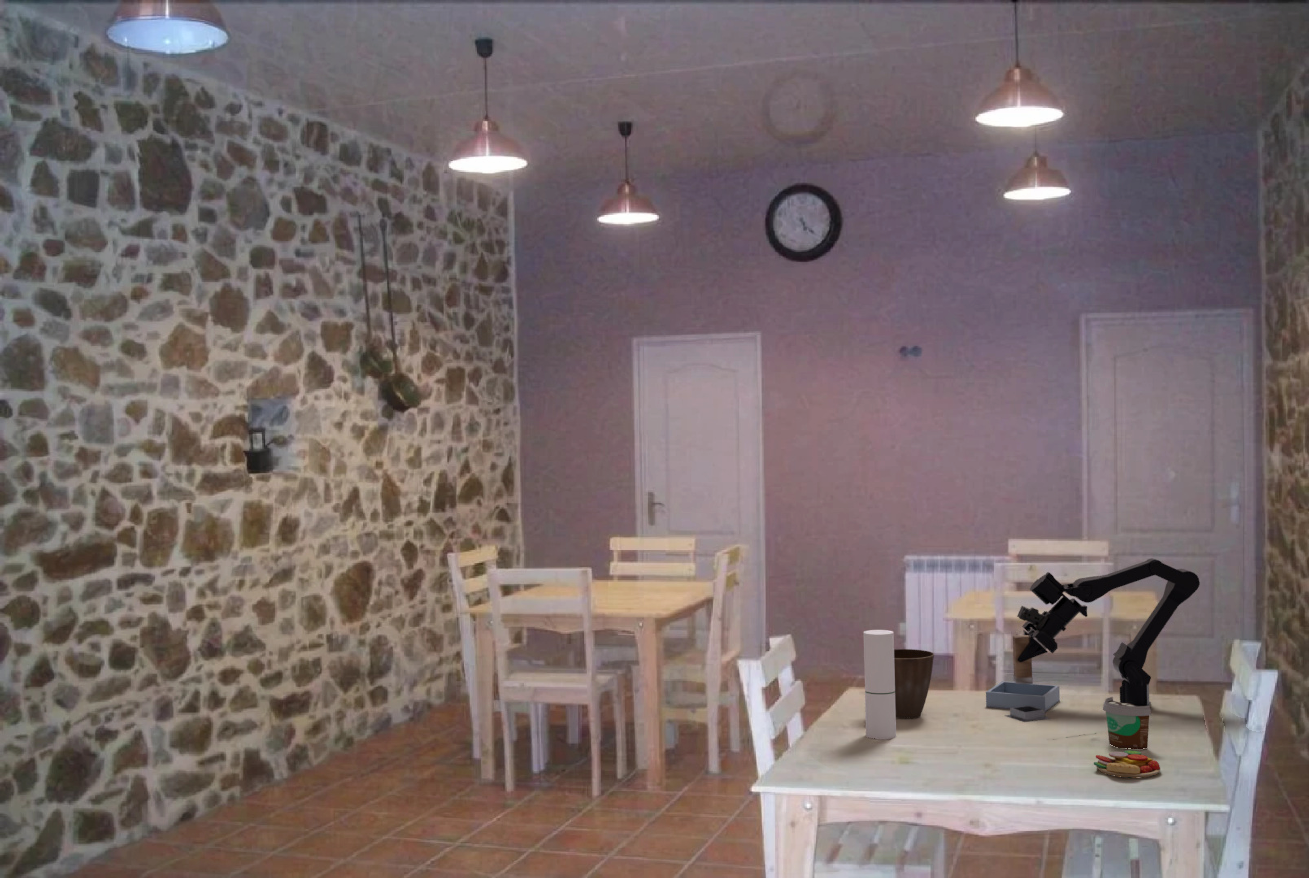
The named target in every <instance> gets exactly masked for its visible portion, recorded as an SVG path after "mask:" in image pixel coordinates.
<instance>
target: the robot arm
mask: <svg viewBox="0 0 1309 878" xmlns="http://www.w3.org/2000/svg"><path fill="white" fill-rule="evenodd" d="M1153 576H1157V577H1158V578H1161V579H1163V580H1165V581H1167V582H1166V584H1165V587H1164V592H1163V595H1162V597H1161V599H1160V600H1159V602H1158V603H1157V605H1156V606H1155V607H1154V609H1153V610H1152V611H1151V613H1150V615H1149V616H1148V618H1147V619H1146V621H1145V622H1144V624H1143V625H1142V627H1141V628H1140V630H1139V631H1138V632H1137V634H1136V635H1135V637H1134V638H1133V640H1132V641H1130V642H1129V643H1127V644H1125V642H1122V641H1121V643H1120V644H1119V646H1118V648H1117V650H1116V651H1115V652H1114V653H1113V659H1112V665H1113V666H1112V667H1113V668H1114V670H1115V671H1116V672H1117V673H1118V674H1120V676H1121V679H1123V680H1122V681H1121V685H1120V687H1119V702H1120V703H1130V704H1133V705H1135V706H1150V705H1151V703H1152V702H1151V701H1150V683H1151V680H1152V676H1151V675H1150V674H1148V673H1147V672H1146V671H1145V670H1144V669H1143V667H1144V665H1145V664H1146V661H1147V656H1148V652H1149V650H1150V648H1151V647H1152V645H1153V644H1154V642H1155V641H1156V639H1157V638H1158V636H1159V635H1160V634H1161V632H1162V631H1163V629H1165V626H1166V624H1167V623H1168V621H1170V619H1171V617H1172V616H1173V614H1174V613H1175V611H1177V609H1178V607H1179V606H1180V605H1181V604H1183V603H1184V602H1186V601H1188V599H1190V598H1191V596H1192V595H1194V594H1195V593H1196V591H1197V590H1199V587H1200V585H1201V582H1200V578H1199V577H1198V574H1196V573H1195V572H1193V571H1191V570H1188V569H1186V568H1174V567H1172V566H1169V565H1167V564H1165V563H1163V562H1162V561H1160V560H1159V559H1156V558H1148V559H1147V560H1145V561H1142V562H1139V563H1137V564H1134V565H1133V564H1132V565H1130V566H1126V567H1125V568H1121V569H1118V570H1116V571H1113V572H1110V573H1108V574H1107V573H1106V574H1103V575H1102V574H1101V575H1095V576H1093V575H1092V576H1087V577H1080V578H1077V579H1076V580H1074V581H1073V582H1072V583H1065V584H1061V583H1060V582H1059V581H1058V580H1057V579H1056V578H1055V576H1054V575H1053V574H1052V573H1051V572H1049V571H1048V572H1046V573H1045V574H1044V575H1042V576H1041V577H1039V578H1037V579H1036V580H1035V581H1034V582H1033V584H1031V586H1030V588H1029V591H1030V592H1032V593H1033V594H1034V595H1035V596H1036V597H1037V598H1038V599H1039V600H1040V601H1041V602H1042V603H1044V604H1045V605H1046V606H1047V605H1049V604H1050V605H1051V606H1052V607H1051V608H1050V609H1049V610H1048V611H1047V610H1043V612H1042V613H1040V612H1039V609H1038V608H1035V607H1030V608H1028V607H1026V606H1024V605H1021V606H1020V609H1019V610H1018V613H1017V615H1016V618H1018V619H1019V620H1022V621H1026V622H1025V623H1023V624H1022V626H1021V627H1022V628H1023V631H1022V632H1023V635H1028V636H1029V643H1028V645H1027V646H1026V647H1025V649H1024V650H1023V652H1022V653H1021V654H1020V656H1019V657H1018V659H1017V660H1018V661H1019V662H1023V661H1026V660H1028V659H1031V658H1032V659H1033V658H1035V657H1038V656H1041V655H1044V654H1047V653H1048V651H1049V652H1050V653H1051V654H1054V653H1055V652H1056V651H1057V649H1058V642H1057V641H1056V639H1055V638H1056V637H1057V635H1059V634H1060V633H1061V632H1065V631H1066V630H1067V626H1068V625H1069V624H1070V623H1071V621H1072V620H1073V619H1074V618H1076V616H1077V615H1078V614H1080V615H1082V616H1083V617H1085V618H1087V617H1088V606H1087V605H1086V604H1085V605H1084V604H1083V605H1082V604H1080V602H1083V603H1089V604H1090V603H1093V602H1094V601H1096V600H1098V599H1100V598H1102V597H1104V596H1106V594H1108V593H1109V592H1110V591H1113V590H1115V589H1118V588H1120V587H1121V588H1122V587H1125V586H1126V585H1129V584H1134V583H1135V582H1139V581H1141V580H1145V579H1147V578H1150V577H1153ZM1064 593H1065V594H1064ZM1066 594H1067V595H1068V596H1069V597H1073V598H1071V599H1069V598H1068V597H1067V595H1066ZM1075 598H1076V599H1078V600H1079V601H1080V602H1078V601H1077V600H1076V599H1075Z"/></svg>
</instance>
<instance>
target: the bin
mask: <svg viewBox="0 0 1309 878" xmlns="http://www.w3.org/2000/svg"><path fill="white" fill-rule="evenodd" d="M1060 696H1061V695H1060V685H1053V684H1052V685H1051V684H1044V683H1043V684H1040V683H1033V684H1016V683H1015V682H1014V681H1001V682H999V683H997V684H996V685H995V686H992V687H991V688H990V689H988V690H987V691H985V702H986V703H985V705H986V706H985V707H986V708H992V709H993V708H994V709H1003V710H1004V709H1005V710H1010V708H1015V707H1023V706H1033V707H1036V708H1039V709H1043V710H1045V713H1046V712H1047V711H1049V710H1050V709H1051V708H1053V707H1054V706H1055V705H1057V703H1059V702H1060V700H1061V698H1060Z"/></svg>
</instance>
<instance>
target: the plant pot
mask: <svg viewBox="0 0 1309 878" xmlns="http://www.w3.org/2000/svg"><path fill="white" fill-rule="evenodd" d="M934 656H935V653H934V652H932V651H928V650H923V649H912V648H911V649H910V648H897V649H895V648H894V670H895V711H896V719H917V718H919V717H921V716H922V713H923V710H924V707H925V704H926V700H927V696H928V693H929V688H930V684H931V679H932V673H933V668H934V667H933V665H934Z"/></svg>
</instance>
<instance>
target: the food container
mask: <svg viewBox="0 0 1309 878" xmlns="http://www.w3.org/2000/svg"><path fill="white" fill-rule="evenodd" d="M1102 710H1103V712H1105V715H1106V724H1107V734H1108V735H1107V736H1108V744H1109V745H1110V744H1111V745H1113V746H1115V747H1114V748H1116V747H1118V748H1117V749H1120V748H1127V749H1126V750H1128V748H1131V749H1143V748H1147V749H1148V745H1149V744H1148V743H1149V730H1150V729H1149V728H1150V727H1149V725H1150V716H1152V710H1151V708H1150V705H1149V706H1135V705H1133V704H1130V703H1120V701H1119V702H1118V701H1115V700H1114V697H1113V696H1109V697H1107V698H1105V699H1104V702H1103V705H1102ZM1111 745H1110V746H1111ZM1113 746H1112V747H1113ZM1143 750H1144V749H1143Z"/></svg>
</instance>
